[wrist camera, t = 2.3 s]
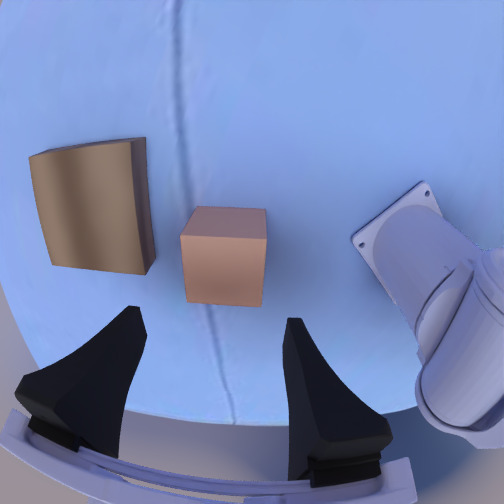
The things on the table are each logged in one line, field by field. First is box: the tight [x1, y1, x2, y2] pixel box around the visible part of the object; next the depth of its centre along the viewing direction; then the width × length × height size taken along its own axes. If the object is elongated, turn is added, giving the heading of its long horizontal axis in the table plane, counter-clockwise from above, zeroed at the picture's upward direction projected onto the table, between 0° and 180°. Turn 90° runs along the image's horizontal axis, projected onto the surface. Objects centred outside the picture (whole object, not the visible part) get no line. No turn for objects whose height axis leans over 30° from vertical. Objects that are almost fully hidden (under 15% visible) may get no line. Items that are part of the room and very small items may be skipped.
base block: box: [29, 137, 156, 275], centre depth 19 cm, size 10×10×3 cm
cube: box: [180, 206, 267, 307], centre depth 19 cm, size 5×5×5 cm
